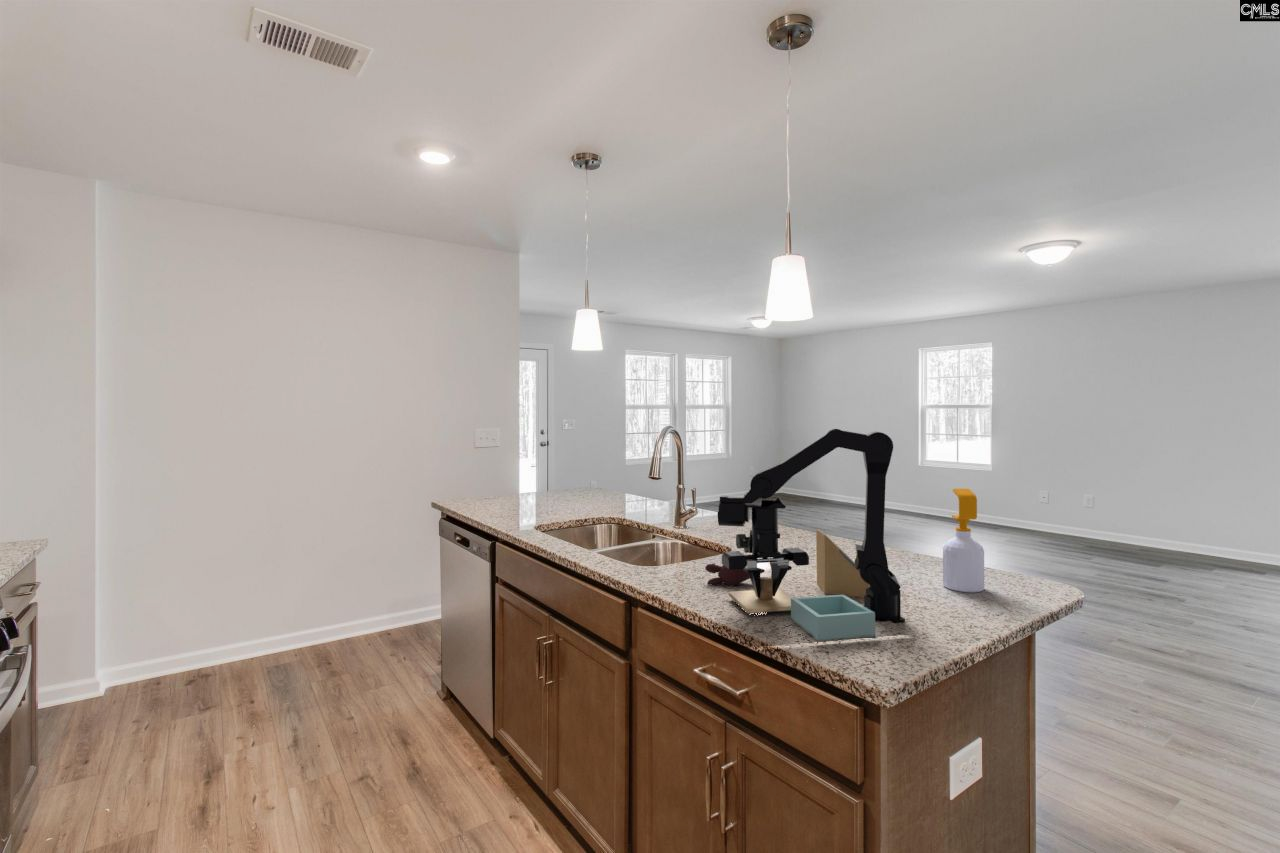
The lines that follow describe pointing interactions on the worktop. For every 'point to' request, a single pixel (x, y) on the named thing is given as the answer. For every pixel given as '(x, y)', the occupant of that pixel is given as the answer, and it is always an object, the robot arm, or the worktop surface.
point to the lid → (763, 598)
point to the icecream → (727, 575)
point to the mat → (769, 613)
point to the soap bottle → (964, 550)
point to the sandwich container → (837, 569)
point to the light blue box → (833, 617)
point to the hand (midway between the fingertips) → (765, 596)
